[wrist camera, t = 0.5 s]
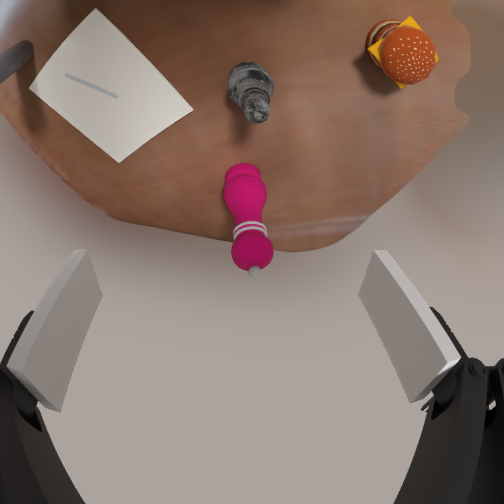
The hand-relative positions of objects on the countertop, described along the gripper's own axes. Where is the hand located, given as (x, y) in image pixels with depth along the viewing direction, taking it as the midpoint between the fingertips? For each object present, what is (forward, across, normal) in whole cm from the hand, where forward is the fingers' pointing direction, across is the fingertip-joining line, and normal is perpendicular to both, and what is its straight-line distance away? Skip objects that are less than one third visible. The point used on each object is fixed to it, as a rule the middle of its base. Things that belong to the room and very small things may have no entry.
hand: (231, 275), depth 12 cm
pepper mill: (+38, +3, -7) cm, 39 cm away
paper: (+29, -18, +9) cm, 35 cm away
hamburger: (+27, +22, +19) cm, 40 cm away
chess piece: (+30, +2, +10) cm, 31 cm away
